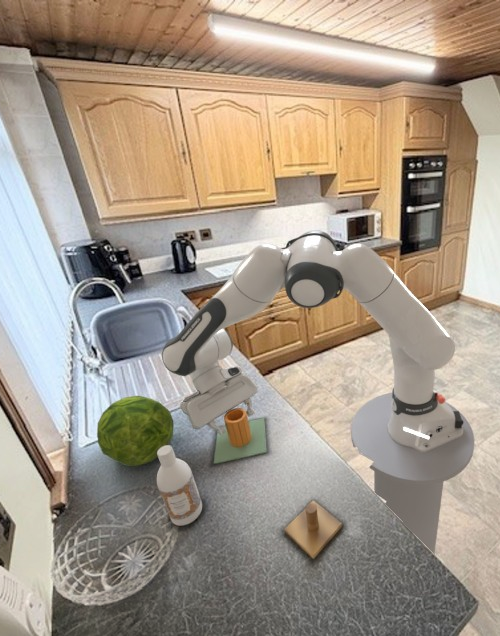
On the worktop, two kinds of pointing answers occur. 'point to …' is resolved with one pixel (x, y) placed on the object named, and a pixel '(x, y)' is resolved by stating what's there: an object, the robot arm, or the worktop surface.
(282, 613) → the worktop surface
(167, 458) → the bath foam
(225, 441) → the mat
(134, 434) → the lettuce
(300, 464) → the worktop surface
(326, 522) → the post
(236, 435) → the orange ribbed tube
